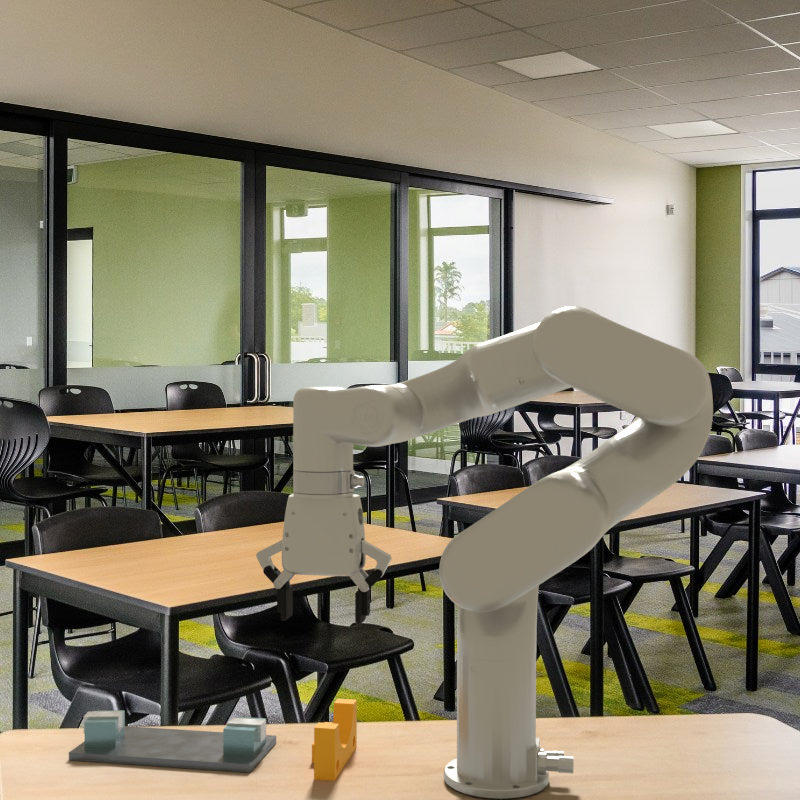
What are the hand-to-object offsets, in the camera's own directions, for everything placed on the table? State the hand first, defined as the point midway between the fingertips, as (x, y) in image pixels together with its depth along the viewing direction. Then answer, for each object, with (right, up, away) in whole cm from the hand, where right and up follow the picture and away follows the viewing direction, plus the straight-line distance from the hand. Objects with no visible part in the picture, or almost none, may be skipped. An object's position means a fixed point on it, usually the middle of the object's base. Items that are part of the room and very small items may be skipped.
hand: (323, 619), depth 136 cm
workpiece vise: (-20, -18, +4) cm, 27 cm away
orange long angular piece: (+1, -18, 0) cm, 18 cm away
